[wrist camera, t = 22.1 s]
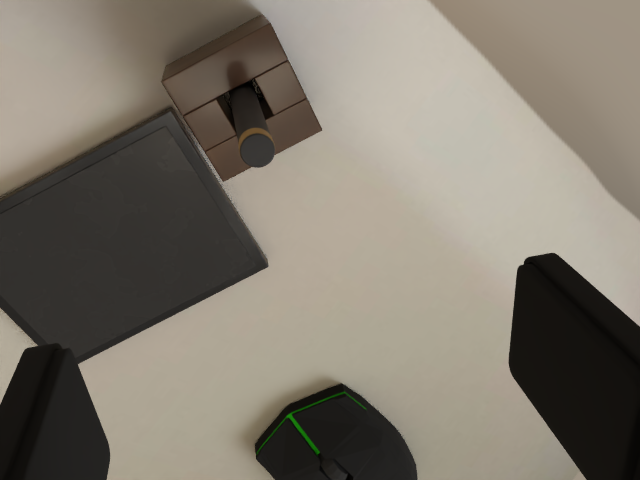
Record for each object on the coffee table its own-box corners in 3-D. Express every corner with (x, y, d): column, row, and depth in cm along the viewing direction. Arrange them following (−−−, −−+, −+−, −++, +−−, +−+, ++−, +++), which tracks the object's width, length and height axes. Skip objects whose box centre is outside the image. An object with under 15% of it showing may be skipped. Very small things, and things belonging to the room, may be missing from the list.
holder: (165, 66, 31) (160, 81, 28) (262, 13, 31) (270, 22, 28) (221, 158, 34) (223, 182, 31) (310, 111, 34) (322, 130, 31)
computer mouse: (340, 531, 54) (350, 572, 50) (226, 449, 46) (228, 490, 42) (438, 468, 52) (454, 505, 49) (336, 371, 44) (348, 408, 41)
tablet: (-63, 231, 33) (-71, 239, 32) (171, 106, 33) (170, 111, 32) (66, 363, 39) (63, 372, 38) (267, 260, 38) (269, 267, 38)
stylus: (222, 79, 32) (233, 144, 22) (245, 68, 32) (265, 127, 22) (234, 101, 33) (250, 174, 23) (256, 90, 33) (281, 158, 23)
